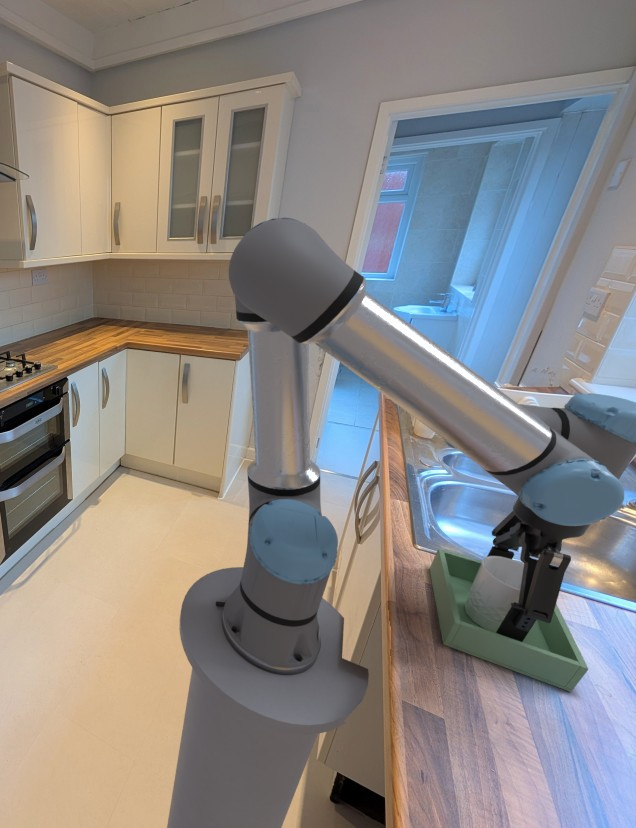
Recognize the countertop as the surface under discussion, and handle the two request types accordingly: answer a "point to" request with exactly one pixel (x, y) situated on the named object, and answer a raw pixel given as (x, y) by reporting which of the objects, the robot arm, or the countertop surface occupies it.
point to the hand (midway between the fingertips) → (497, 606)
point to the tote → (535, 657)
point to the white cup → (494, 591)
